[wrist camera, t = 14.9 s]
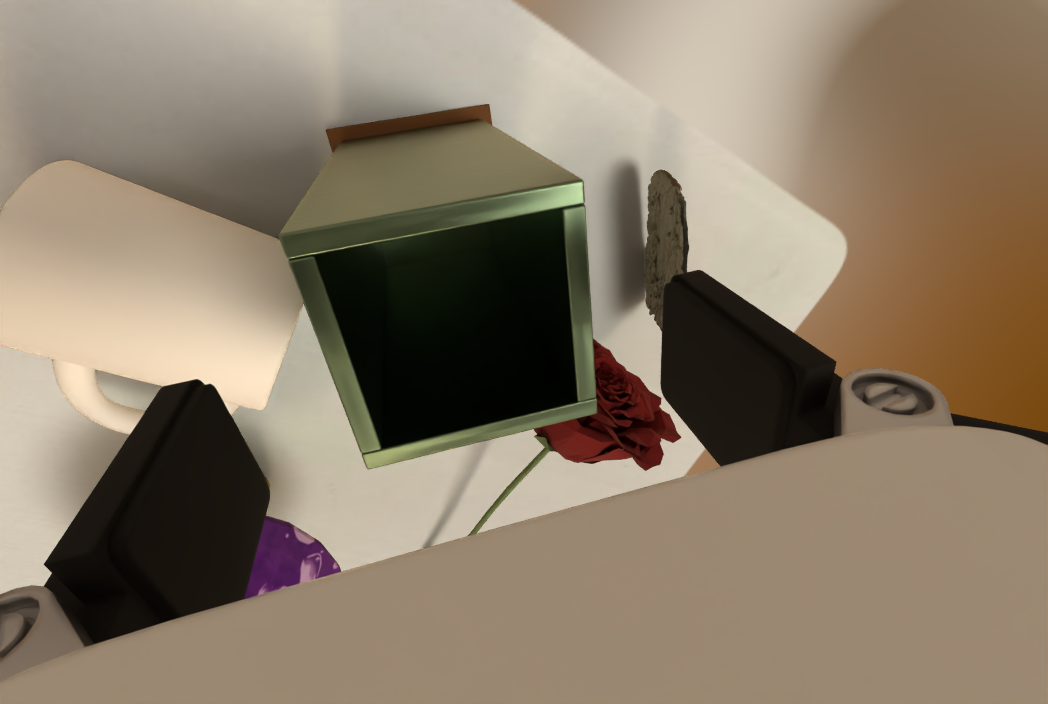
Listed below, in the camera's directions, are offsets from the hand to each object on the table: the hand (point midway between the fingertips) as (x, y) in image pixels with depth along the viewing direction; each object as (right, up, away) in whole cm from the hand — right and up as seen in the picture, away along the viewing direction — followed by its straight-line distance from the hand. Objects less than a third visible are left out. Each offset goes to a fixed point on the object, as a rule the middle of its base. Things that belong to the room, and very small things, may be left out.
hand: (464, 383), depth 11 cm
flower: (-2, -9, +27) cm, 29 cm away
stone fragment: (+9, +7, +20) cm, 24 cm away
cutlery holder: (-4, +9, +16) cm, 19 cm away
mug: (-16, +4, +16) cm, 23 cm away
